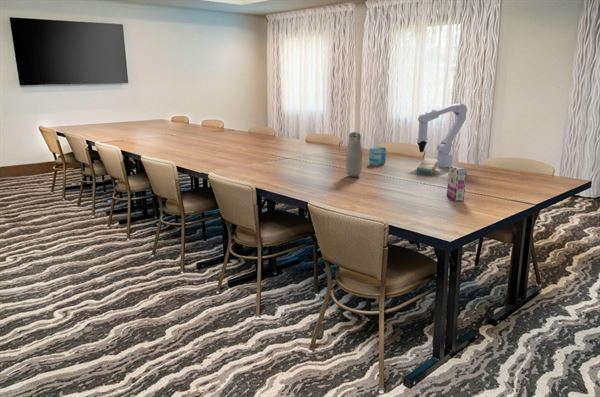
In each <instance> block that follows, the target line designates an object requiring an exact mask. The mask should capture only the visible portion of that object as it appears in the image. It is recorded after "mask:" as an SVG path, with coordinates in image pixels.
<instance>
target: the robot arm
mask: <svg viewBox="0 0 600 397" xmlns="http://www.w3.org/2000/svg"><path fill="white" fill-rule="evenodd" d="M450 112H451V113H452V112H453V113H454V115H455V118H456V119H455V120H454V123H453V125H452V126H451V128H450V130H449V131H448V132H447V135H445V138H444V139H442V140H441V141H440V143H439V144H438V145H437V146H436V149H437V161H436V162H437V168H449V166H453V154H452V153H450V152H451V150H452V146H453V142H454V140H455V138H456V136H457V134H458V133H459V131H460V130H461V128H462V127H463V125H464V123H465V122H466V119H467V112H468V108H467V106H466V104H464V103H457V102H456V103H454V104H453V103H452V104H450V105H448V106H445V107H443V108H441V109H438V110H437V109H431V111H428V112H427V111H426V112H424V113H421V114H420V115H419V116H418V118H417V121H418V135H417V138H416V143H417V145H418V149H419V153H424V152H425V149H426V146H427V143H428V123H429V122H431V121H434V120H436V119H439V117H440V116H441V115H444V114H448V113H450Z"/></svg>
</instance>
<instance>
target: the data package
mask: <svg viewBox="0 0 600 397" xmlns="http://www.w3.org/2000/svg"><path fill="white" fill-rule="evenodd" d="M386 151H387V149H386V147H382V146H378V147H377V146H376V147H371V148H369V153H368V154H369V156H368V165H370V166H381V165H385V163H386V155H387V154H386V153H387V152H386Z"/></svg>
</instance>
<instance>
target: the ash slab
mask: <svg viewBox="0 0 600 397" xmlns="http://www.w3.org/2000/svg"><path fill="white" fill-rule="evenodd" d="M437 168H438V166H437V161H432V160H423V161H422V162H420V164H419V165H418V166H417V167H416V170H417V174H422V175H432V173H433V172H434V171H435V170H438V169H437Z"/></svg>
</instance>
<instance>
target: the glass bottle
mask: <svg viewBox="0 0 600 397" xmlns="http://www.w3.org/2000/svg"><path fill="white" fill-rule="evenodd" d="M361 139H362V135H361V133H360V132H358V131H353V132H350V133H349V135H348V142H347V147H346V152H345V172H346V174H347V176H348V177H352V178H355V177H356V178H357V177H359V176H360V175H361V173H362V169H363V154H364V152H363V147H362V142H361Z"/></svg>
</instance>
